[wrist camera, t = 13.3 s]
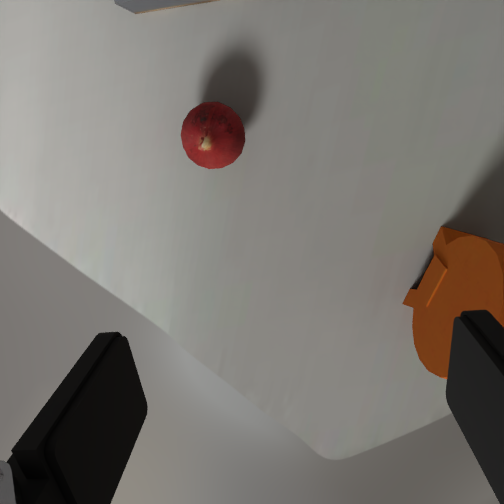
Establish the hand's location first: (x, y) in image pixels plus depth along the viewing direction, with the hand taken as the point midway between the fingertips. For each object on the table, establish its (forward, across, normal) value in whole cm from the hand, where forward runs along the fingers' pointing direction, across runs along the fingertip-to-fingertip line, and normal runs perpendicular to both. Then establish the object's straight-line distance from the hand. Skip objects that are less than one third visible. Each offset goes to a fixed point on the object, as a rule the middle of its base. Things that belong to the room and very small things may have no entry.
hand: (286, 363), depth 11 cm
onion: (+31, +6, -4) cm, 31 cm away
